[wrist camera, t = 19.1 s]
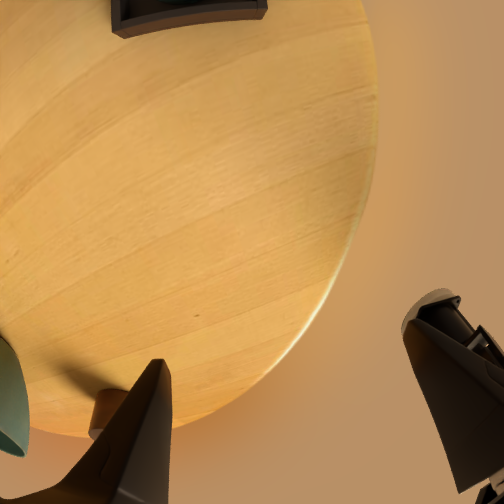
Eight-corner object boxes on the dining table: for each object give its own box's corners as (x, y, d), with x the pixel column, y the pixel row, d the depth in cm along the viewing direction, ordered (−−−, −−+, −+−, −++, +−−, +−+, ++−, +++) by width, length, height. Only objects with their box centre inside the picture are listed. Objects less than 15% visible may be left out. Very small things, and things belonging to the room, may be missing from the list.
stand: (137, 389, 30) (130, 431, 25) (155, 417, 34) (152, 454, 29) (88, 387, 30) (77, 425, 25) (110, 415, 33) (104, 449, 28)
